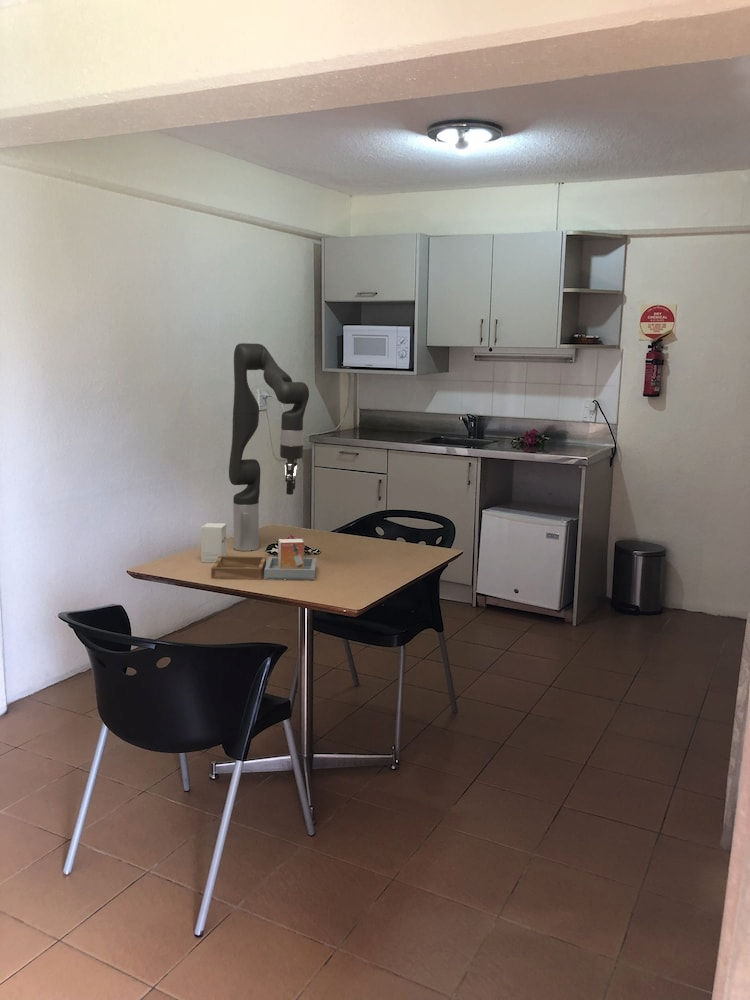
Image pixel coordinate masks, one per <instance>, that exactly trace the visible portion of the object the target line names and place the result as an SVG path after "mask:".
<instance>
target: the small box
mask: <svg viewBox="0 0 750 1000" xmlns="http://www.w3.org/2000/svg"><path fill="white" fill-rule="evenodd" d="M277 544H278V545H277V546H278V547H277V552H278V553H277V557H278V569H304V558H305V542H304V539H303V538H287V539H286V538H283V539H282V538H279V539H278V543H277Z"/></svg>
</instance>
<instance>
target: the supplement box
mask: <svg viewBox="0 0 750 1000" xmlns="http://www.w3.org/2000/svg"><path fill="white" fill-rule="evenodd" d="M200 533H201V534H200V541H201V543H200V545H201V547H200V549H201V551H200V552H201V557H200V558H201V560H200V561H201V563H213V564H214V563H215V562H216V560H217V559H218V557H219V556H227V523H222V522H221V523H219V522H216V523H215V522H206V523H205V524H203V525H202V526H201V528H200Z"/></svg>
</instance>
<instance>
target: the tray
mask: <svg viewBox="0 0 750 1000" xmlns="http://www.w3.org/2000/svg"><path fill="white" fill-rule="evenodd" d="M316 571H317V557H304V569H278V556H269V557H268V559H267V560H266V567H265V569H264V574H263V577H264V580H265V581H270V580H269V579H279V580H278V581H304V580H314V581H315V577H316ZM281 579H282V580H281ZM284 579H286V580H284Z"/></svg>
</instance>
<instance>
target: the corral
mask: <svg viewBox="0 0 750 1000" xmlns="http://www.w3.org/2000/svg"><path fill="white" fill-rule="evenodd" d="M266 564H267V556H234V555H233V556H232V555H231V556H227V555H226V556H219V557H218V559H217V560H216V562H215V563H213V564H212V566H211V568H210V572H211V574H210V575H211V576H210V578H220V579H219V580H245V579H249V581H252V580H253V581H254V580H255V581H256V580H257V581H261V580H262V579H263V577H264V569H265V567H266ZM245 567H249V568H245Z"/></svg>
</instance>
